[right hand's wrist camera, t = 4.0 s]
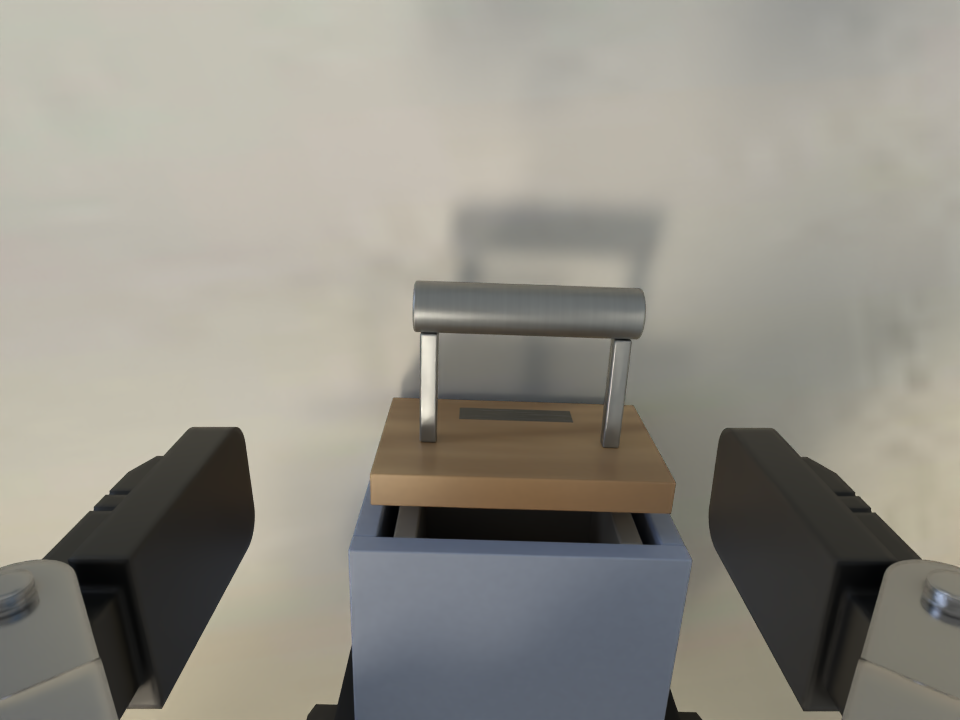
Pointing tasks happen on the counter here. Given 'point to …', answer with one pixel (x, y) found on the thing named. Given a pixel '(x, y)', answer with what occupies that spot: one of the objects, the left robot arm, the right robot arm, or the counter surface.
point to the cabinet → (513, 624)
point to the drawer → (521, 429)
